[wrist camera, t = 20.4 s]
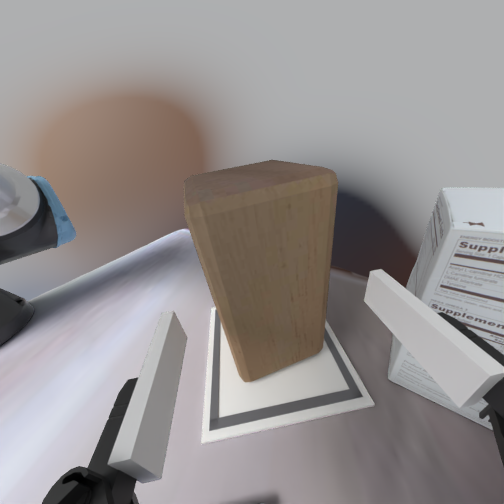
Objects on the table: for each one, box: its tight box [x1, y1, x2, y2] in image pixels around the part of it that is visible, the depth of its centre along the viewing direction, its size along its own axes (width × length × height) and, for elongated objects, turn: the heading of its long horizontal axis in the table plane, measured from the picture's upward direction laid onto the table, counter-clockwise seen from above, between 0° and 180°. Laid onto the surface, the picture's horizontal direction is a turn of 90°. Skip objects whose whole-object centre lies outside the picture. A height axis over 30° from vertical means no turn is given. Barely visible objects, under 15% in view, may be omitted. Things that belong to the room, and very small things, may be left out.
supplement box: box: [388, 188, 504, 430], centre depth 15 cm, size 10×9×17 cm
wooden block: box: [184, 160, 338, 382], centre depth 20 cm, size 10×10×20 cm
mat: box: [201, 307, 375, 445], centre depth 24 cm, size 16×16×1 cm
